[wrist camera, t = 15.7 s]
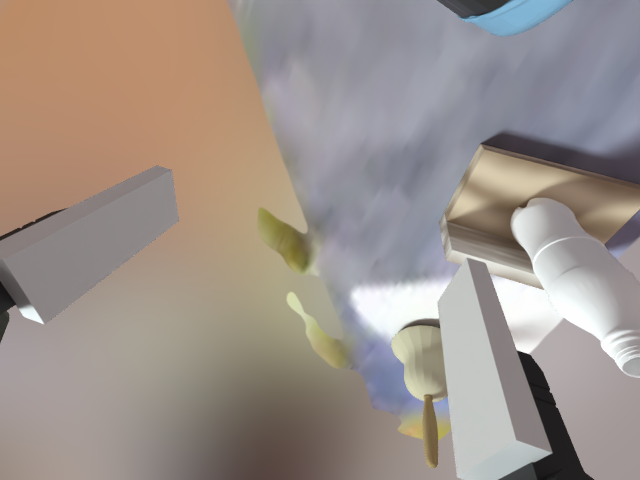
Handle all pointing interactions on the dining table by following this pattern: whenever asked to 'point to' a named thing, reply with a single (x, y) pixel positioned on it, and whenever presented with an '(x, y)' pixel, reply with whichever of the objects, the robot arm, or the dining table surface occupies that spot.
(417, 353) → the handbell
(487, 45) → the dining table surface
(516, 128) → the dining table surface
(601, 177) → the board
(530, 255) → the water bottle
